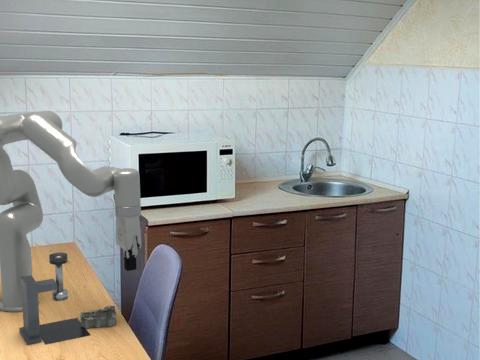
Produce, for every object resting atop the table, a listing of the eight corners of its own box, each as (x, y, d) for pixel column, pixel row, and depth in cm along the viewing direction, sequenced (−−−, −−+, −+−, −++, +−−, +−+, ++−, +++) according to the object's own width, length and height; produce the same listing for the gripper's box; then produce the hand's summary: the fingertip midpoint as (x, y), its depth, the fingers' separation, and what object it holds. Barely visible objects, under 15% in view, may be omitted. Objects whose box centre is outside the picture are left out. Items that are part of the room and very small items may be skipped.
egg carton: (116, 317, 207) (116, 304, 206) (116, 327, 200) (116, 314, 199) (81, 318, 206) (80, 306, 205) (79, 329, 198) (78, 316, 197)
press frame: (18, 329, 198) (14, 273, 195) (77, 318, 206) (74, 264, 203) (28, 348, 186) (25, 289, 183) (90, 336, 195) (88, 279, 191)
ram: (49, 296, 196) (47, 253, 194) (66, 293, 199) (64, 251, 196) (53, 302, 192) (51, 258, 189) (71, 299, 194) (69, 256, 192)
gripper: (107, 206, 205) (110, 264, 209) (124, 217, 192) (127, 279, 196) (131, 203, 209) (133, 260, 212) (149, 214, 196) (151, 274, 200)
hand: (130, 269), depth 204 cm, fingers closed
